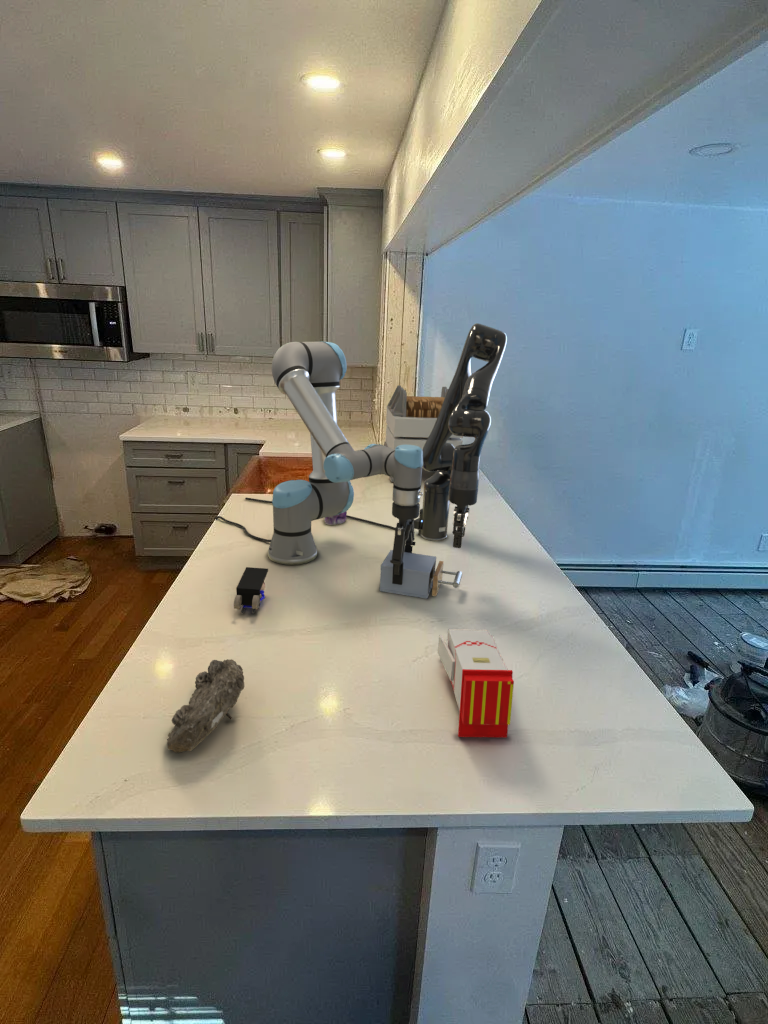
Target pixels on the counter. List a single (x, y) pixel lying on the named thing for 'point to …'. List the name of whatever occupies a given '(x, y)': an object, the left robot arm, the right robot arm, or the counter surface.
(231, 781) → the counter surface
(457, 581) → the drawer
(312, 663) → the counter surface
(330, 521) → the figurine
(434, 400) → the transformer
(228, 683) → the fossil
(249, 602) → the black wheeled rover
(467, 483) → the right robot arm
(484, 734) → the toy
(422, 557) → the cabinet
